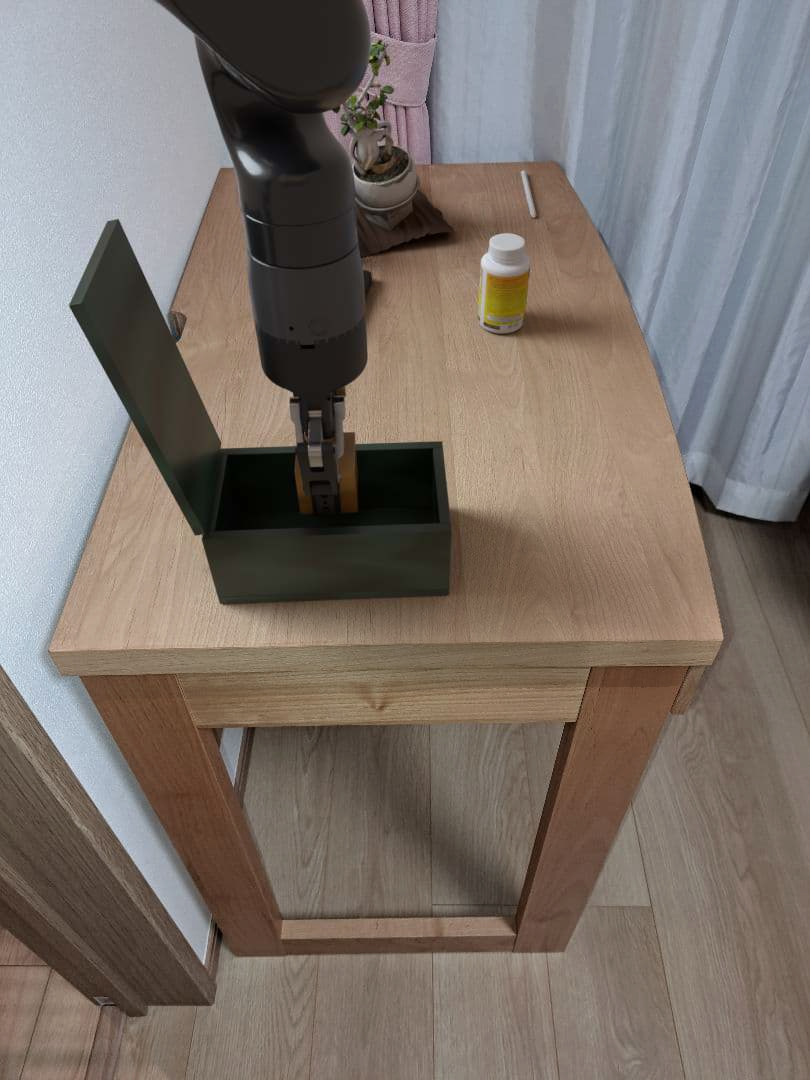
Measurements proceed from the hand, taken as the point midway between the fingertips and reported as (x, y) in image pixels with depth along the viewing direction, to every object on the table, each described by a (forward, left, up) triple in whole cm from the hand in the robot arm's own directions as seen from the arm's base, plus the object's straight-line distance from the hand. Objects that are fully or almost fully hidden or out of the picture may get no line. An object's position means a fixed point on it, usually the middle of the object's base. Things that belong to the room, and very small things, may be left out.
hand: (328, 491), depth 67 cm
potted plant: (+26, +56, -8) cm, 63 cm away
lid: (-10, +4, +11) cm, 15 cm away
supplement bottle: (+31, +26, -8) cm, 42 cm away
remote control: (+15, +37, -8) cm, 41 cm away
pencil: (+51, +55, -8) cm, 75 cm away
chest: (0, 0, -8) cm, 8 cm away
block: (0, 0, 0) cm, 0 cm away
